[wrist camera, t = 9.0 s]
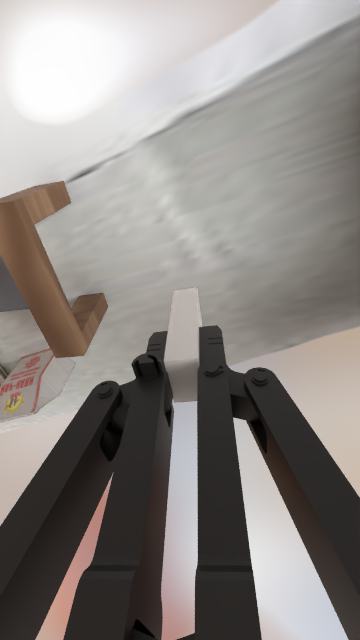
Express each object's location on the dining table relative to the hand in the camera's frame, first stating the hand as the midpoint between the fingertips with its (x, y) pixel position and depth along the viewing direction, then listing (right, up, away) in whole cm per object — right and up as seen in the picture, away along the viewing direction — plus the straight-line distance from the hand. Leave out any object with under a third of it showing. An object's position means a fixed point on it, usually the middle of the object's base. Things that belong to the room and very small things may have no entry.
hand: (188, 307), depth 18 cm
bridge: (-12, +7, +13) cm, 19 cm away
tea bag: (-20, -7, +23) cm, 31 cm away
